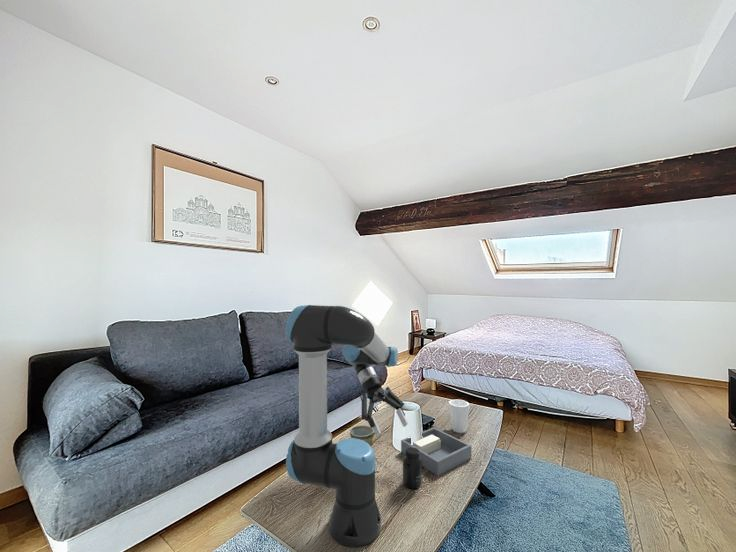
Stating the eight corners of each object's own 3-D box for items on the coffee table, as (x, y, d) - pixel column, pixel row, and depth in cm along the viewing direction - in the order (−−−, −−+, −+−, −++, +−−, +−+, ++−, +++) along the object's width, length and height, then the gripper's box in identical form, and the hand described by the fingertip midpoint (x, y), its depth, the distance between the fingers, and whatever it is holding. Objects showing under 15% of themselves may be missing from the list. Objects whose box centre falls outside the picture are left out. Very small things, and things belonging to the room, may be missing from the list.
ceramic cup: (349, 461, 126) (349, 436, 127) (350, 448, 136) (350, 425, 137) (381, 460, 127) (381, 435, 127) (379, 448, 137) (379, 424, 137)
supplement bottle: (421, 492, 108) (421, 456, 108) (401, 489, 109) (401, 454, 109) (422, 480, 115) (422, 446, 115) (403, 477, 116) (403, 444, 116)
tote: (437, 478, 115) (437, 462, 115) (401, 454, 131) (401, 440, 132) (471, 460, 127) (471, 445, 127) (434, 440, 143) (433, 427, 143)
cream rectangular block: (420, 457, 128) (420, 447, 128) (412, 451, 132) (412, 442, 132) (440, 448, 135) (440, 438, 135) (432, 443, 139) (432, 434, 139)
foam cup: (447, 425, 159) (447, 399, 159) (466, 425, 158) (465, 399, 159) (451, 434, 149) (451, 406, 150) (471, 434, 149) (471, 406, 149)
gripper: (388, 380, 143) (411, 425, 130) (341, 391, 128) (362, 443, 116) (396, 371, 139) (420, 417, 126) (348, 381, 124) (370, 434, 111)
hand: (392, 430), depth 121 cm, fingers open, 13 cm apart
